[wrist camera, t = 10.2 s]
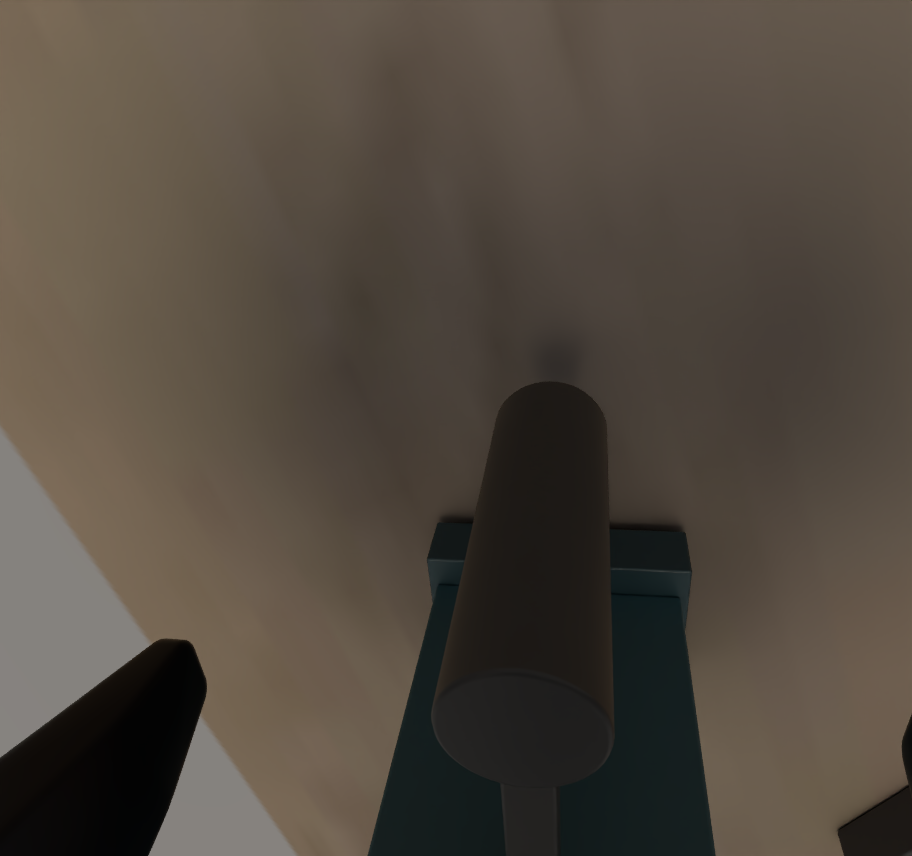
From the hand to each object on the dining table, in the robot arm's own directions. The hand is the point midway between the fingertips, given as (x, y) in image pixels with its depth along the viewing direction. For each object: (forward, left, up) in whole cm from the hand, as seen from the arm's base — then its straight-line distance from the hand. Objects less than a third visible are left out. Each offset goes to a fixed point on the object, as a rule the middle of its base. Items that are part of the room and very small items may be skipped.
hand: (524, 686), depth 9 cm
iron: (-8, -5, -3) cm, 10 cm away
